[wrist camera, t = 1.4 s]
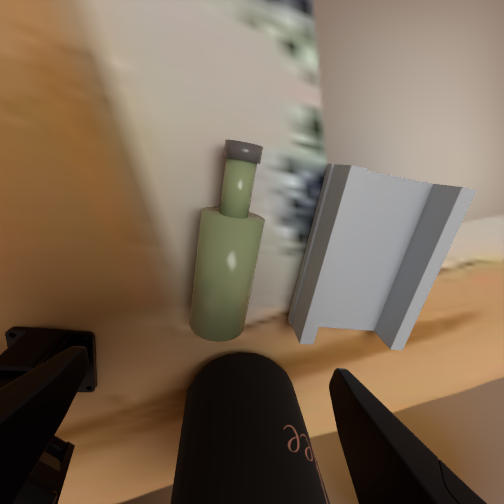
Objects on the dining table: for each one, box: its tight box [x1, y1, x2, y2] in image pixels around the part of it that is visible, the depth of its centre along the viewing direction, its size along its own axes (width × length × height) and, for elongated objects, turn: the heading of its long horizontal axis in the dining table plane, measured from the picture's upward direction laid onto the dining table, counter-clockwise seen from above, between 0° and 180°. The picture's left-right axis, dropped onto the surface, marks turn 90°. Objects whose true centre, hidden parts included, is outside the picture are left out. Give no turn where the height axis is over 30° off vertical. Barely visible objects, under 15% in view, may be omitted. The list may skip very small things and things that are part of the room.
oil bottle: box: [189, 140, 265, 341], centre depth 18 cm, size 14×4×4 cm, turn 170°
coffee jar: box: [171, 353, 330, 504], centre depth 17 cm, size 11×11×18 cm
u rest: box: [288, 164, 476, 350], centre depth 20 cm, size 14×10×3 cm
